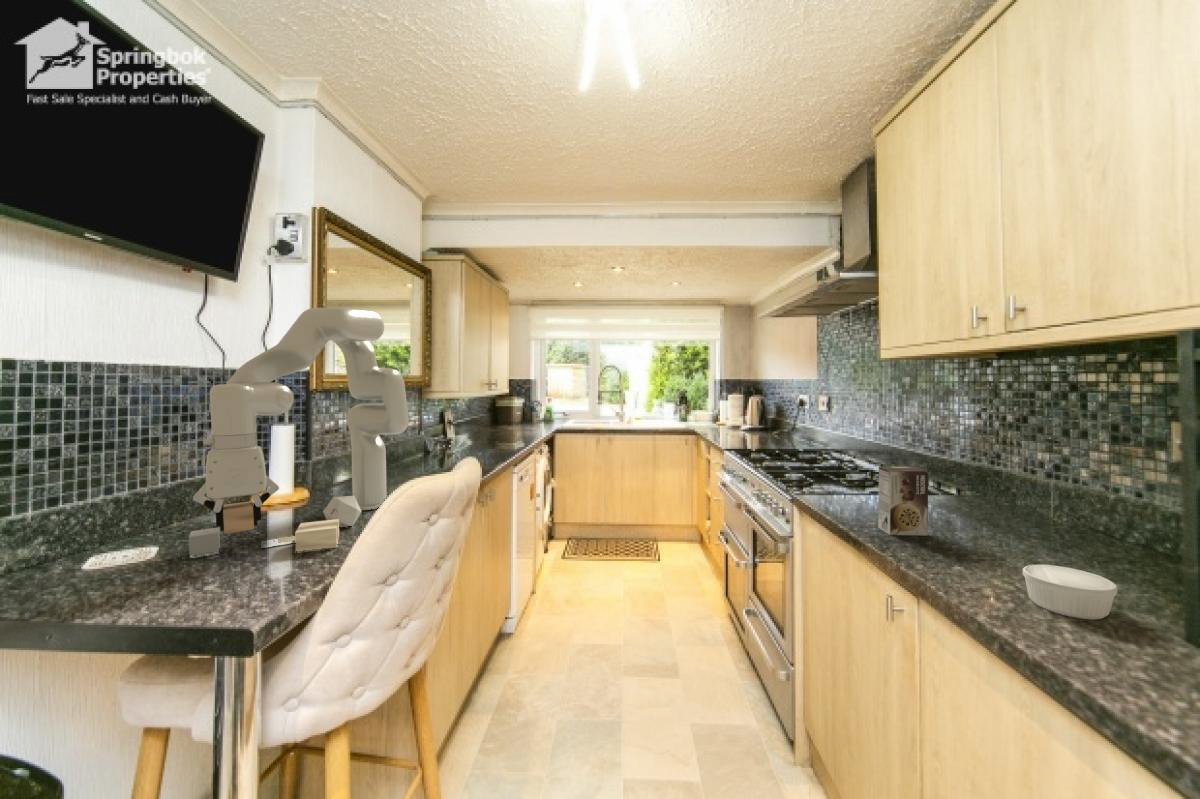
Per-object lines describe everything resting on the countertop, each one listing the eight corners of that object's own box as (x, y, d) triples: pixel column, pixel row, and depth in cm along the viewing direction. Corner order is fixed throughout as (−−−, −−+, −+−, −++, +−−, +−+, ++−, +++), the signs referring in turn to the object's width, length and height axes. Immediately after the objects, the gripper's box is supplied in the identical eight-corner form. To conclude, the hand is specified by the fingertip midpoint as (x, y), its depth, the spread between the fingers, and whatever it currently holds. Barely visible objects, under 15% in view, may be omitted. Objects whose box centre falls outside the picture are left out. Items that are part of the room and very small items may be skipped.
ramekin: (1004, 593, 86) (1005, 564, 85) (1063, 591, 86) (1064, 562, 86) (1070, 625, 74) (1071, 591, 74) (1136, 622, 75) (1138, 589, 75)
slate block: (191, 553, 108) (191, 531, 107) (220, 548, 110) (219, 527, 110) (189, 560, 103) (188, 537, 103) (219, 554, 106) (218, 532, 106)
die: (321, 528, 128) (313, 505, 122) (346, 505, 134) (340, 483, 129) (344, 541, 126) (338, 518, 120) (370, 518, 133) (364, 495, 127)
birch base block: (301, 543, 114) (300, 523, 114) (339, 539, 117) (338, 519, 117) (295, 554, 107) (295, 532, 107) (336, 549, 110) (336, 528, 110)
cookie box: (914, 528, 124) (915, 466, 123) (928, 536, 117) (930, 470, 117) (876, 527, 124) (877, 465, 124) (889, 535, 118) (890, 470, 117)
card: (260, 542, 114) (260, 540, 114) (299, 536, 119) (299, 534, 119) (260, 549, 110) (260, 547, 110) (301, 542, 114) (301, 540, 114)
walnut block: (225, 527, 103) (224, 504, 103) (253, 523, 106) (252, 500, 106) (224, 533, 99) (223, 510, 99) (254, 529, 102) (252, 506, 102)
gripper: (179, 448, 94) (185, 540, 95) (284, 440, 104) (287, 523, 105) (184, 444, 100) (189, 530, 101) (282, 437, 110) (285, 515, 111)
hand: (239, 525), depth 103 cm, fingers closed on walnut block, 4 cm apart
